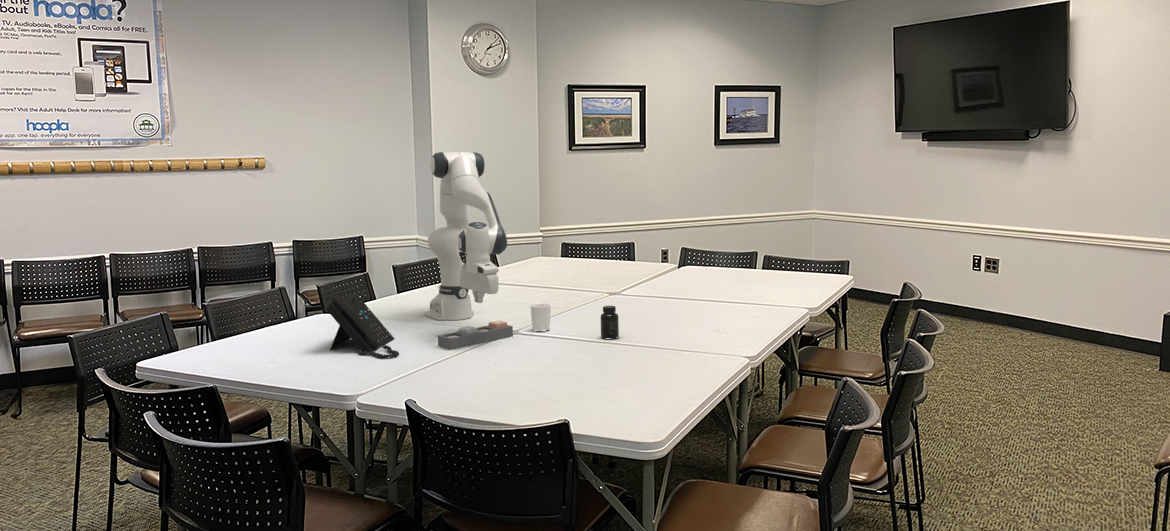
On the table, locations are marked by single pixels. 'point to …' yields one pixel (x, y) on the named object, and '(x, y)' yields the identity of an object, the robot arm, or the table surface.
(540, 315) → the white cup
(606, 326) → the supplement bottle
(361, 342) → the office phone
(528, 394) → the table surface
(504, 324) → the key
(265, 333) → the table surface
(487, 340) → the dark grey holder tray
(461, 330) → the key
